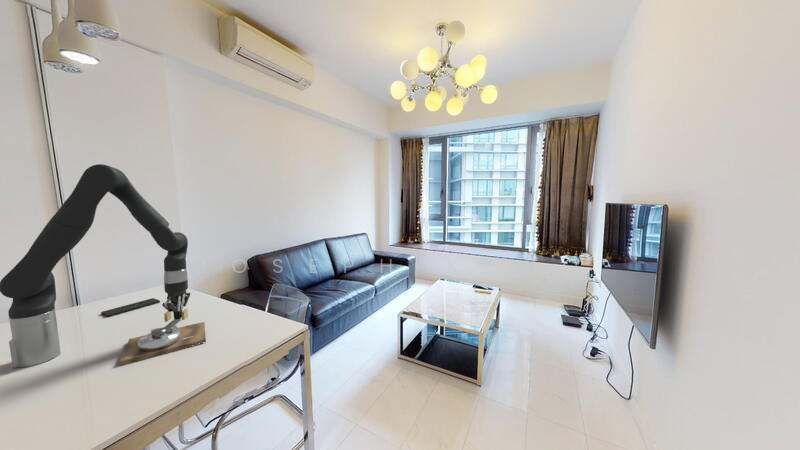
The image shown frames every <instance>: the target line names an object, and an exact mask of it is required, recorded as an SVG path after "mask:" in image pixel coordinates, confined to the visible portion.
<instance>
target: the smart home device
mask: <svg viewBox="0 0 800 450" xmlns="http://www.w3.org/2000/svg"><path fill="white" fill-rule="evenodd" d="M160 303H161V300H159V299H156V298H154V297H152V298H147V299H145V300H140V301H137V302H133V303H129V304H125V305H122V306H118V307H115V308H111V309H107V310H103V311H101V312H100V314H101V316H104V317H106V318H111V317H115V316H118V315H122V314H126V313H129V312H133V311H135V310H136V311H137V310H139V309H143V308H146V307H150V306H153V305H157V304H160Z"/></svg>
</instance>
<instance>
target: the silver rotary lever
mask: <svg viewBox="0 0 800 450" xmlns="http://www.w3.org/2000/svg"><path fill="white" fill-rule="evenodd" d="M188 311H189V310H188V308H186V309H182V312H181V318H180V319H178V320H175V319H174V318H173V320H172V312H169V311H168V310H167V311H166V312H164V313H163V315H164V322H165V323H166V322H168V324H166V325H165V326H164V327H159V328H158V327H155V328H153V329H150V330H149V331H150V332H149V333H147V334H144V335H145V336H144V335H142V336H143V337H142V338H140V339H139V340H138V349H139V350H140V351H154V350H158V349H162V348H165V347H167V346H170V345H172V344H174V343H175V342H177V341H178V340H179V339H180V330H179V329H178V328H179V327H178V326H176V325H177V324H179V323H180V322H181V321H185V320H186V319H187V318H188V317H189V314H188V313H189V312H188ZM170 320H171V321H170ZM169 321H170V322H169Z"/></svg>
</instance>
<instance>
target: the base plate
mask: <svg viewBox="0 0 800 450" xmlns="http://www.w3.org/2000/svg"><path fill="white" fill-rule="evenodd" d="M205 325H206V324H205V321H202V322H197V323H194V324H193V323H192V324H189V325H184V326H180V327H178V329H179V330H180V339H179V340H178V341H177V342H175V343H174V344H172V345H170V346H167V347H165V348H162V349H158V350H154V351H140V350H139V349H138V340H139V339H140V338H142V337H143V336H145V335H146V334H144V335H141V336H137V337H132V338H129V339H128V340H127V344H125V345H126V346H125V347H124V349H123V352H122V354H121V356H120V358H119V361H118V366H119V365H121V366H124V365H127V363H128V364H130V363H131V362H132V363H134V362H138V360H139V361H142V359H143V360H146V359H145V358H147V359H150V358H154V357H156V356H157V355H158V356H161V355H164V353H165V354H168V352H169V353H172V351H173V352H176V351H179V350H178V349H180V350H183V349H182V348H184V349H186V348H185V347H187V348H190V347H189V346H191V347H193V346H192V345H195V346H197V345H196V344H198V345H200V344H199V343H202V344H204V343H203V342H207V339H206V327H205ZM175 350H176V351H175ZM153 356H154V357H153ZM149 357H150V358H149ZM132 363H131V364H132ZM123 364H124V365H123Z"/></svg>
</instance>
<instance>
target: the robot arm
mask: <svg viewBox="0 0 800 450" xmlns="http://www.w3.org/2000/svg"><path fill="white" fill-rule="evenodd" d="M108 193H109V194H112V195H113V196H114V197H115V198H117V199H118V200H119V201H120V202H121V203H122V204H123V205H124V206H125V208H126V209H127V210H128V212H130V214H131V216H132V217H133V218H134V219H135V220H136V222H137V223H139V224H140V225H141V226H142V227H143V228H144V229H145V230H146V231H147V232H148V233H150V235H151V237H152V238H153V241H154V242H155V243H156V244H157V245H158V246H159V247H160V248H161V249H163V250H164V251H167V254H166V256H165V257H164V259H163V269H164V272H163V287H164V292H165V293H166V295H167V296H166V301H165V302H163V303H162V307H163V308H164V309H165V310H167V311H169V312H171V313H172V314H173V320H174V319H175V320H178V319H180V318H181V312H182V311H183V310H184V307H186V306H187V303H188V301H189V299H190V297H191V292H187V290H188V288H189V279H188V271H187V259H186V256H187V252H188V244H189V242H188V237H187V236H186V234H184V233H182V232H179V231H177V232H176V231H175V232H173V230H172V229H171V228H170V227H169V225H170V223H169V222H168V221H167V219H165V217H163V215H161V214H160V213H159V212H158V211H157V210H156V209H155V208H154V207H153V206H152V205H151V204H150V203H149V202H148V201H147V200H146V199H145V198H144V197H143V196H142V195H141V194H140V192H139V191H138V189H136V188H135V187H134V184H132V182H131V181H130V180H129V178H128V177H127V175H126V174H125V173H124V172H123V171H121V170H120V169H118V168H116V167H113V166H110V165H107V164H93V165H91V166H88V167H87V168H86V169H85V170H84V171H83V173H82V175H81V177H80V178H79V180H78V182H77V184H76V185H75V187H74V189H73V191H72V192H71V193H70V195H69V196H68V198H66V200H65V201H64V202H63V204H61V206H60V207H59V209H58V210H57V211H56V212H55V214H54V215H53V216H52V217H51V218H50V219H49V221H47V223H46V225H44V228H43V229H42V230H41V231H40V233H39V234H38V236H37V237H36V239H35V240H34V241H33V243H32V244H31V246H30V248H29V249H28V251H27V252H26V253H25V255H24V256H23V257H22V258H21V260H20V261H19V262H17V263H16V265H15V266H14V267H13V268H12V269H11V270H10V271H9V272H7V274H6V275H4V277H3V278H1V280H0V294H1V295H2V296H4V297H6V298H8V299H12V302H11V304H10V305H11V306H9V307H10V308H9V309H8V319H9V327H10V333H11V339H10V340H9V342H8V345H9V351H10V357H11V364H12V365H11V366H12V369H15V368H24V367H25V368H26V367H33V366H35V365H40V364H43V363H45V362H48V361H50V360H53V359H54V358H55V359H56V358H57V357H58V356H60V354H61V346H60V337H59V329H58V322H57V321H58V319H57V313H56V307H55V305H56V304H55V303H56V300H57V290H56V289H57V288H56V280H55V276H54V274H53V272H52V271H53V270H54V268H55V267H56V266H57V264H58V263H59V262H60V261H61V260H62V259H63V258H64V257H65V256H66V255H68V253H69V252H71V250H73V248H75V246H77V245H78V244H79V243H80V242H81V240H82V239H83V238H84V237H85V236H86V234H87V233H88V232H89V230H90V229H91V227H92V226H93V223H94V220H95V216H96V211H97V209H98V207H99V204H100V202H101V201H102V199H103V198H104V197H105V196H106V195H107V194H108ZM181 319H182V318H181Z"/></svg>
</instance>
